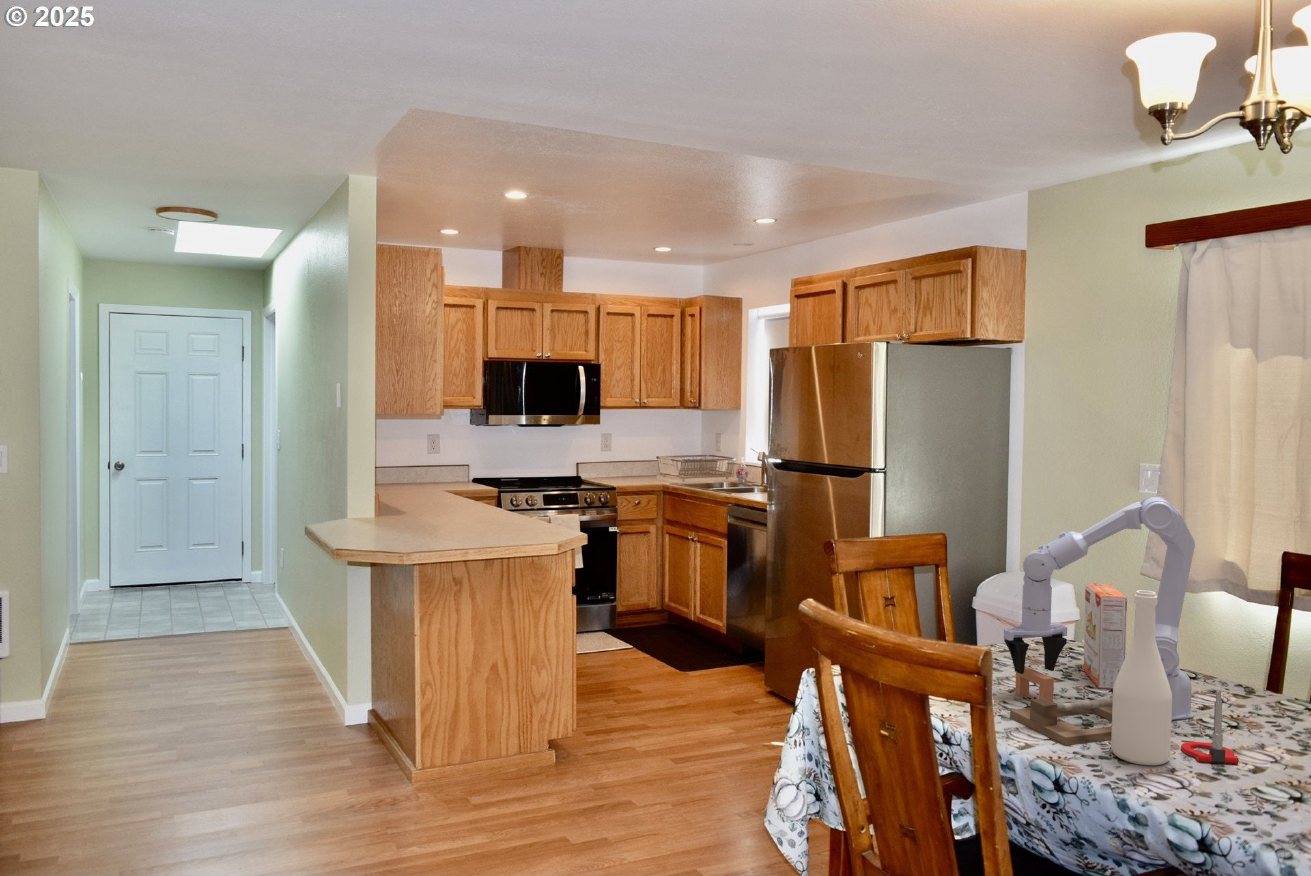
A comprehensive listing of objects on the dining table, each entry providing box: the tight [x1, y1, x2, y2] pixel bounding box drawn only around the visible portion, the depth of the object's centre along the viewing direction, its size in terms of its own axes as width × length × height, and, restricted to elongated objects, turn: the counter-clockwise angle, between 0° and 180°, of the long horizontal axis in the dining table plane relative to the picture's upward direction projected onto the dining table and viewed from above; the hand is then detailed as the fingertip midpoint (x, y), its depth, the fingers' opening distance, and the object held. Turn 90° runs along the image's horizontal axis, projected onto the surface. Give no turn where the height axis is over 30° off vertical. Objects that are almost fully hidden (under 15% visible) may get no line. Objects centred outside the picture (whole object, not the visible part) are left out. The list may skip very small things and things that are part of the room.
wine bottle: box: [1110, 589, 1172, 766], centre depth 176 cm, size 10×10×30 cm
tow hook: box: [1180, 689, 1239, 765], centre depth 178 cm, size 8×13×9 cm
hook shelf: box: [1009, 697, 1113, 746], centre depth 193 cm, size 24×16×6 cm, turn 107°
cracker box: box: [1083, 582, 1128, 690], centre depth 222 cm, size 14×6×21 cm, turn 168°
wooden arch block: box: [1014, 665, 1055, 703], centre depth 209 cm, size 2×9×6 cm, turn 17°
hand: (1034, 671), depth 208 cm, fingers open, 7 cm apart
